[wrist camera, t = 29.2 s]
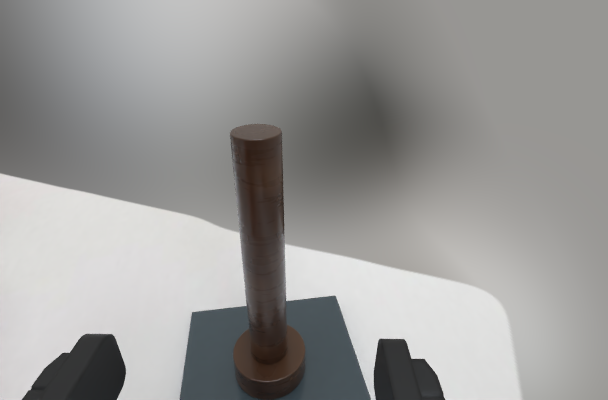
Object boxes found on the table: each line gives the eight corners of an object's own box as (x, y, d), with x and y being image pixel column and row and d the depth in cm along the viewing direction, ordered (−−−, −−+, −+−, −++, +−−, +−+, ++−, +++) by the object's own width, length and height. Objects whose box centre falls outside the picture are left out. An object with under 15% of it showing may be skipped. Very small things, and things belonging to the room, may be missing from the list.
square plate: (335, 303, 26) (335, 295, 26) (384, 451, 18) (385, 442, 17) (193, 320, 25) (191, 312, 24) (170, 491, 16) (167, 482, 16)
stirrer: (299, 334, 23) (298, 115, 16) (310, 393, 19) (315, 146, 13) (235, 342, 22) (207, 119, 15) (235, 405, 19) (198, 152, 12)
